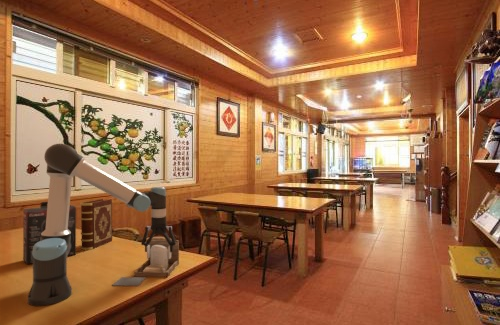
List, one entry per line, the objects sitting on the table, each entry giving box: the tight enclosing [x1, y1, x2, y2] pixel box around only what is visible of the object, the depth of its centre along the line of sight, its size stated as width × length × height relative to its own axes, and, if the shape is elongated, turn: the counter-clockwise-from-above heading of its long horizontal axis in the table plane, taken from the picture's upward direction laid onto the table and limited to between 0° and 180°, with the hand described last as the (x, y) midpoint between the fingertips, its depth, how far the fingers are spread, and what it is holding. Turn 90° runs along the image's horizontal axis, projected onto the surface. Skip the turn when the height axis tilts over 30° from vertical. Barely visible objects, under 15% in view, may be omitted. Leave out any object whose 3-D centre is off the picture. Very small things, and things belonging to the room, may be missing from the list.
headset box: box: [22, 201, 77, 265], centre depth 174 cm, size 25×12×33 cm, turn 136°
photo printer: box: [150, 245, 169, 271], centre depth 155 cm, size 10×4×12 cm, turn 61°
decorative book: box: [79, 198, 113, 251], centre depth 200 cm, size 22×8×30 cm, turn 168°
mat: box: [111, 276, 147, 287], centre depth 138 cm, size 9×12×1 cm
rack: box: [133, 239, 180, 278], centre depth 153 cm, size 19×17×13 cm
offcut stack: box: [142, 265, 167, 273], centre depth 148 cm, size 7×10×4 cm, turn 88°
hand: (159, 258), depth 155 cm, fingers open, 11 cm apart
